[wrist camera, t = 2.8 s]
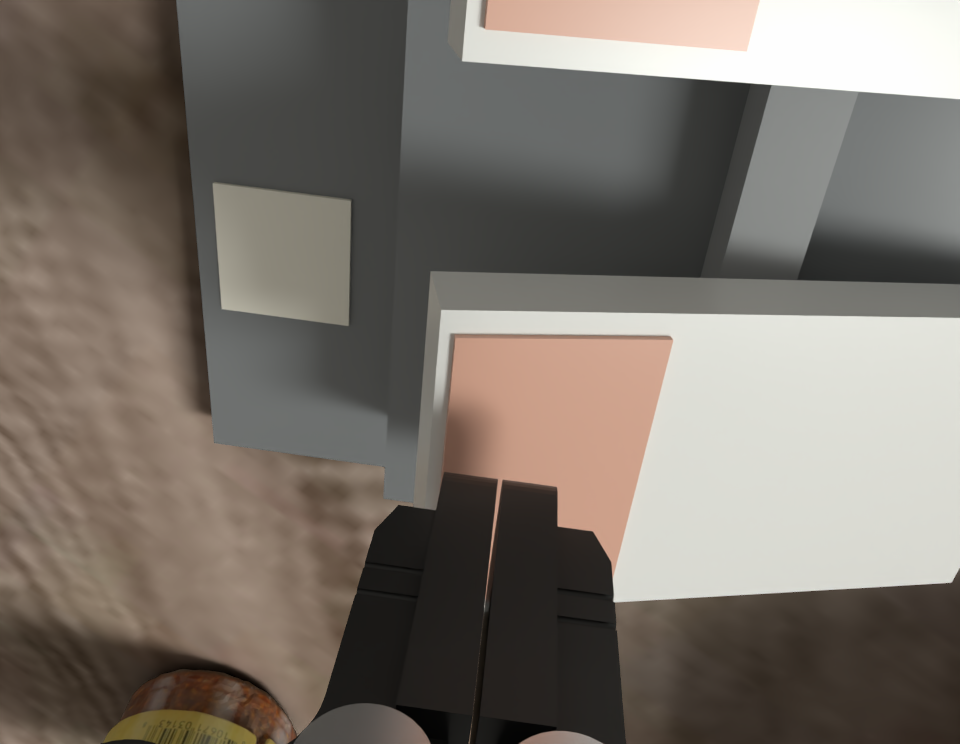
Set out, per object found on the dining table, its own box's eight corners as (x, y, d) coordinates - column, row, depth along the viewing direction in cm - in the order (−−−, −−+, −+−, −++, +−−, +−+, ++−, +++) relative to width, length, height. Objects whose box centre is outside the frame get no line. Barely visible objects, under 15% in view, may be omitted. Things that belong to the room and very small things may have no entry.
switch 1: (1037, 285, 13) (1101, 323, 12) (911, 538, 16) (955, 586, 15) (431, 271, 11) (441, 314, 10) (409, 560, 14) (416, 618, 13)
